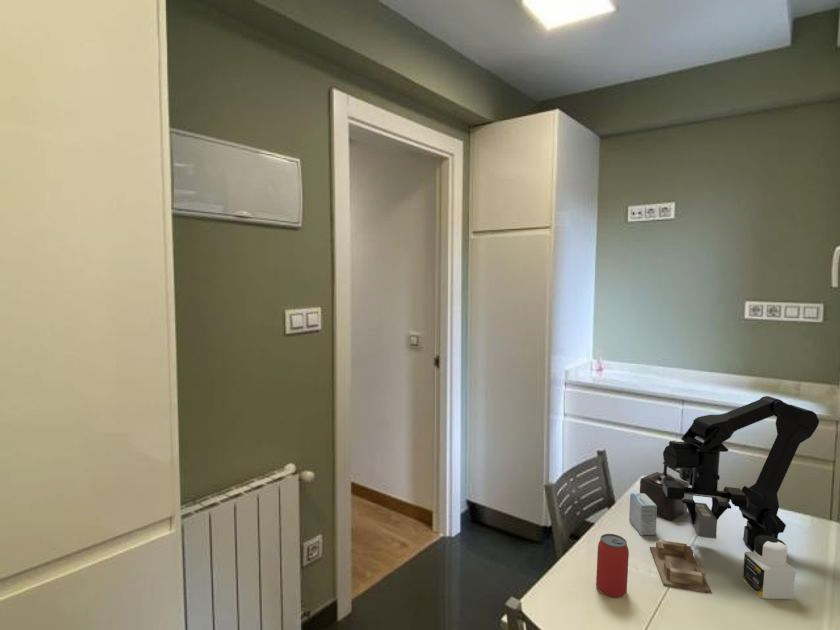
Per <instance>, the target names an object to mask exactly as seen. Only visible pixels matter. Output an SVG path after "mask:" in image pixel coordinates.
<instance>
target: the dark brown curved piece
mask: <svg viewBox="0 0 840 630" xmlns="http://www.w3.org/2000/svg"><path fill="white" fill-rule="evenodd" d="M662 464H663V472H658V471H656V472H653V473H651V474H648V475H646V476H644V477H641V478H640V479H639V493H643V494H646V495H647V496H648V497H649V498H650V499H651V500H652V501H653V502H654V503H655V504H656V505H657V517H659V518H663V519H665V520H669V521H674V520H676V519H679V518H680V517H682V516H684V515H685V514H686V513H687V512H688V509H687V506H686V503H683V502H682V501H681V500H677V499H670V498H667V496H666V495H665V493H664V491H663V483H664V482H665V481H666V480H668V481H677V482H680V484H681V485H682V487H689V486H690V485H689V482H687V478H680V479H678V478H676V477H674V476H672V475H671V474H668V472H667V471H668V467H667V465H666V464H665V462H664V461H663V462H662ZM671 470H672V471H674V472H676V473H677V474H679V475H680V472H679V471H680V469H671ZM689 470H692V468H689Z"/></svg>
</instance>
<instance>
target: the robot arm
mask: <svg viewBox="0 0 840 630" xmlns="http://www.w3.org/2000/svg"><path fill="white" fill-rule="evenodd" d="M771 417H776V420H775V428H776V434H777V435H776V437H775V439H774V441H773V444H772V446H771V448H770V451H769V453H768V455H767V457H766V460H765V462H764V464H763V466H762V468H761V471H760V473H759V474H758V477H757V479H756V482H755V483H754V484H753V485H751V486H749V487H748V486H747V485H743V487H742V488H739V487H731V486H724V488H723V490H719V489H718V485H719V481H720V475H719V472H720V471H719V469H720V458H721V457H720V454H721V452H724V453H726V452H729V448H727V447H726V446H725V445H724V444H723V443H724V442H725V441H727V440H730V439H731V438H732V436H733V435H734V433H735V432H737V431H739V430H740V429H743V428H746V427H748V426H750V425H754V424H756V423H759V422H760V421H763V420H765V419H766V420H767V419H768V418H771ZM819 424H820V419H819V418H818V415H817V414H816V412H814V411H813V410H810V409H806V408H803V407H800V406H797V405H794V404H788V403H786V402H784V401H783V400H782V399H779V398H776V397H772V396H769V395H765V396H762V397H761V398H760V399H758V400H755V401H752V402H750V403H747V404H745V405H743V406H740V407H737V408H735V409H732V410H729V411H727V412H724V413H721V414H706V415H702V416H697V417H696V418H694V419H693V420H692V424H691V425H690V427H689V428H688V429H687V430H686V432H685V433H684V434H683V436H682V437H681V441H675V440H670V441H668V445H666V447H665V448H664V450H663V452H662V456H663V457H662V458H663V462H665V464H666V465H667V469H670V470H672V469H678V470H680V471H679V472H680V474H679V478H680V479H681V478H687V481H686V482H688V483H689V486H691V487H682V485H681V484H680V482H677V481H668V480H666V481H665V482H664V483H663V491H664V493H665V495H666V496H667V498H670V499H677V500H681V501H682V502H683V503H686V506H687V512H688V517H689V516H690V519H691V522H692V524H694V523H695V502H696V501H695V500H694V496H695V497H701V498H703V497H704V498H711V509H710V510H711V511H712V513H713V514H714V516H715V517H716V519H717V521H718V520H719V518H720V517H721V516H722V515H723V514H724V512H726V510H727V509H728V510H729V509H732V505H733V506H734V507H736V508H737V507H738V509H739V511H740V512H741V516H742V518H743V519H746V525H745V526H744V529H743V537H742V540H743V541H744V543H745V544H746V545H747V547H748V548H749V549H750V552H754V544H755V537H757V536H759V535H767V536H772V537H775V538H777V539H779V538H778V537H779V534H781V533H784V531H785V530H786V528H787V527H786V526H787V524H786V523H785V522H784V521H783V520H782V519H781V518H780V517H779V516H778V512H779V508H780V505H779V497H778V492H779V490H780V488H781V486H782V484H783V481H784V479H785V477H786V474H787V473H788V470H789V468H790V466H791V464H792V461H793V459H794V456H796V452H797V450H798V448H799V446H800V444H801V443H803V442H805V441H806V440H808V439H810V438H811V437H812V435H814V433H815V431H816V429H817V428H818V427H819ZM697 438H698V439H697ZM699 439H700V440H702V441H700V440H699ZM689 468H692V470H689ZM730 502H731V503H732V505H731V504H730Z"/></svg>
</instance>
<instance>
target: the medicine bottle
mask: <svg viewBox="0 0 840 630" xmlns="http://www.w3.org/2000/svg"><path fill="white" fill-rule="evenodd" d="M787 553H788V546H787V544H786V543H785V542H784V541H782V540H781V539H780V538H778V539H777V538H775V537H772V536H767V535H759V536H757V537H755V544H754V551H744V555H743V557H744V558H743V570H742V580H743V581H744V582H745V583H746V584H747V585H748V586H749V587H750V588H751V589H752V590H753V591H754V592H755V593H756V594H757V596H759V597H760V599H763V600H765V599H766V600H768V599H769V600H770V599H771V600H794V596H795V595H794V594H795V583H796V574H797V573H796V572H797V570H796V569H795V568H794V567H793V566H792V565H790V564H789V563H788V562H787Z"/></svg>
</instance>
